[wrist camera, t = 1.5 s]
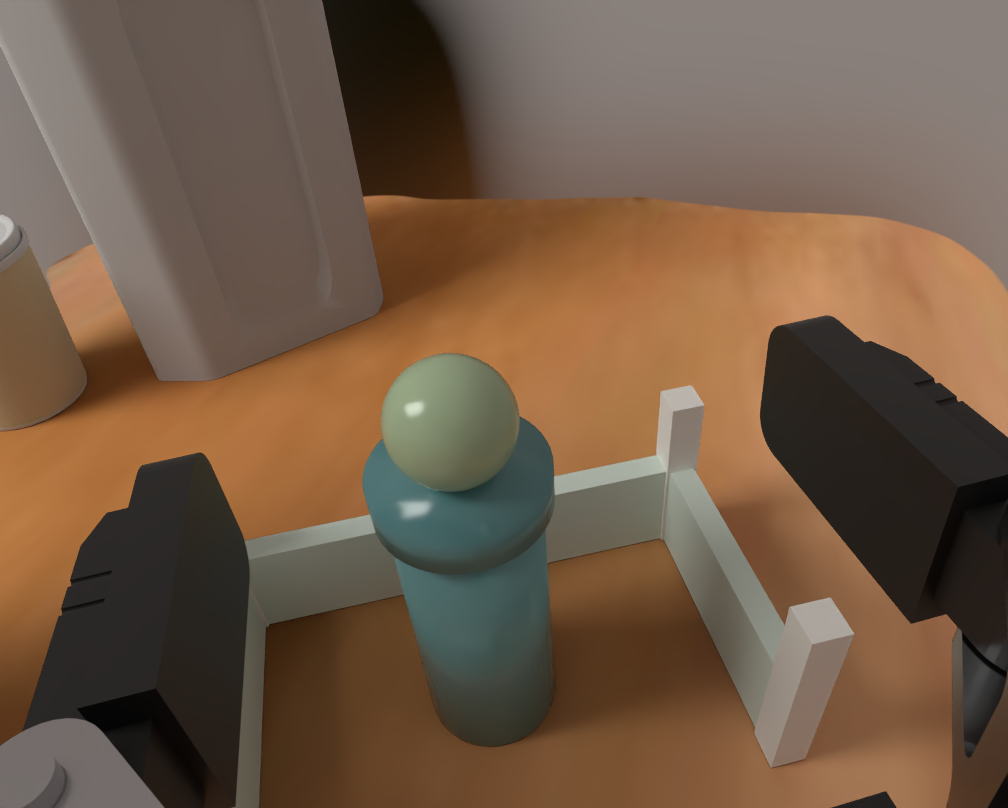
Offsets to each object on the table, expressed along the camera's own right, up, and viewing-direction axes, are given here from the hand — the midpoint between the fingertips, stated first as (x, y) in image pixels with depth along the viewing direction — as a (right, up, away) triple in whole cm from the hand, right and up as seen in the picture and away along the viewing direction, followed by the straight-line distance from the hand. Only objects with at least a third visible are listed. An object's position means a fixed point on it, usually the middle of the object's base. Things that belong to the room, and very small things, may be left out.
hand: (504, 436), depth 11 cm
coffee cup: (-34, +1, +43) cm, 55 cm away
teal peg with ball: (0, -12, +24) cm, 27 cm away
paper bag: (-17, +8, +50) cm, 54 cm away
